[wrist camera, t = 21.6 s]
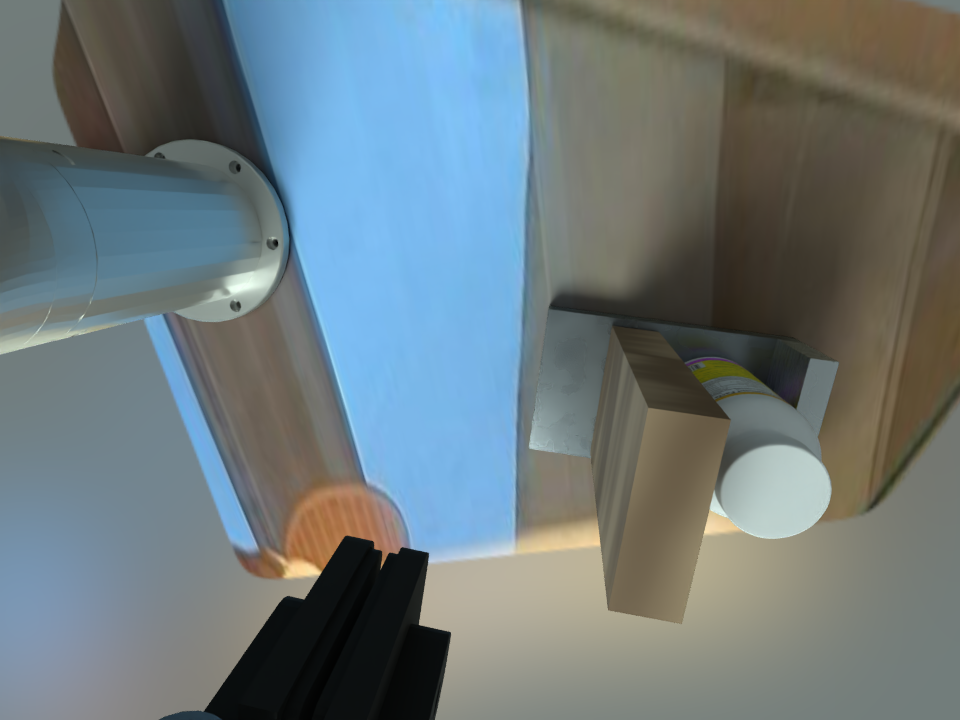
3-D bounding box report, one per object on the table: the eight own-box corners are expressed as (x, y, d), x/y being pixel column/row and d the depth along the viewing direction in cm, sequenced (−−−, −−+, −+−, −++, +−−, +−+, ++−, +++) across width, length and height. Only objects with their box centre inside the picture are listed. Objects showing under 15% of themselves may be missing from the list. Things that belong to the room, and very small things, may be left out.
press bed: (530, 440, 41) (524, 480, 35) (549, 305, 39) (546, 322, 33) (756, 475, 40) (792, 524, 33) (792, 337, 37) (839, 362, 31)
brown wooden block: (590, 452, 39) (607, 610, 24) (612, 325, 37) (648, 407, 21) (634, 459, 39) (681, 623, 23) (659, 331, 36) (731, 419, 21)
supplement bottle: (747, 455, 38) (835, 571, 26) (646, 442, 39) (685, 549, 26) (768, 359, 36) (874, 434, 24) (662, 347, 37) (712, 414, 25)
